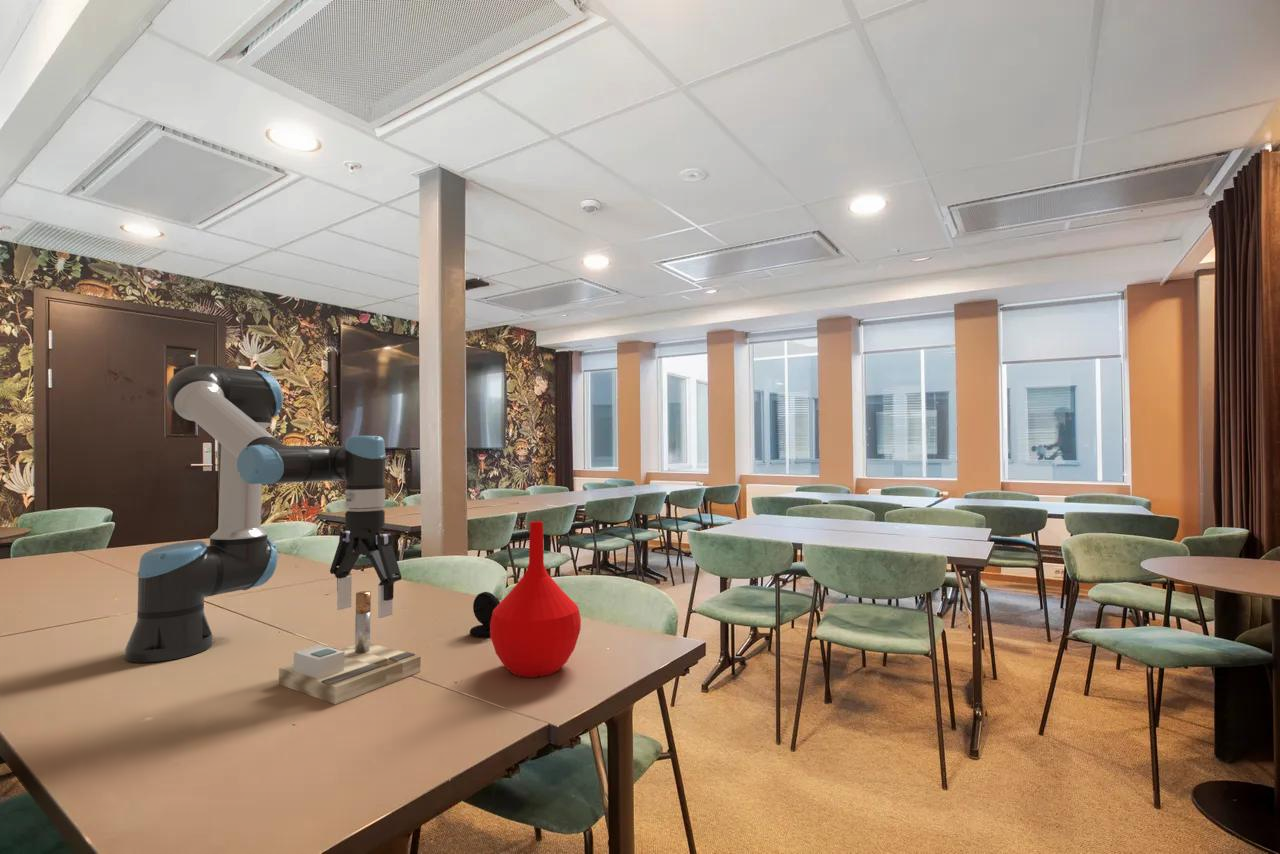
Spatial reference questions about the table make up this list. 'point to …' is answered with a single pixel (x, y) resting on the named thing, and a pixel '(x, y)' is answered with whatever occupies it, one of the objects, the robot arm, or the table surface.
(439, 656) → the table surface
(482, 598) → the webcam
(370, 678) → the panel
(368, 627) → the silver and copper cylinder
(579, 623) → the vase
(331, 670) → the block
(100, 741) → the table surface
